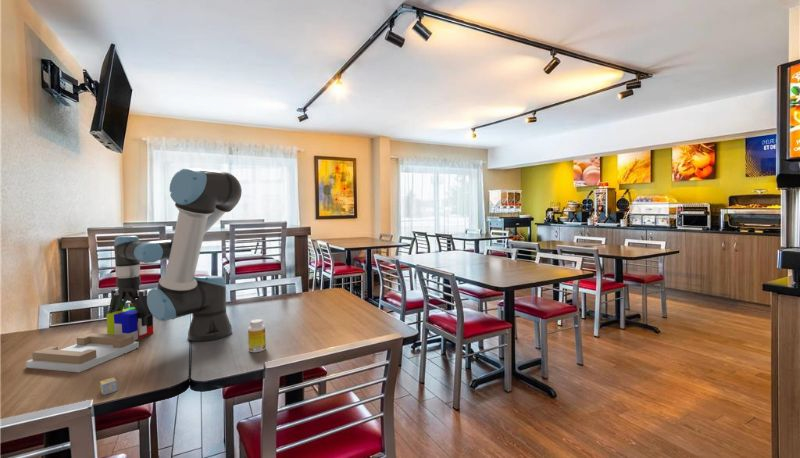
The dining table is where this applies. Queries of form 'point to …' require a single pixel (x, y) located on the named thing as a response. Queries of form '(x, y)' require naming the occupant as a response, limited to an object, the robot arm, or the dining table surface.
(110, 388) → the alphabet block
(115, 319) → the puzzle toy
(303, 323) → the dining table surface
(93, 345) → the foundation plate
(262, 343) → the supplement bottle
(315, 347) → the dining table surface
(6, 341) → the dining table surface
